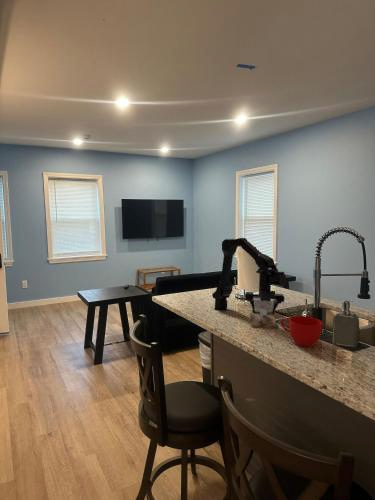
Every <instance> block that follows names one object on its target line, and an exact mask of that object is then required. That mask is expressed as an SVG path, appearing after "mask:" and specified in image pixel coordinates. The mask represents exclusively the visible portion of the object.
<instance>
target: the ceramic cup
mask: <svg viewBox="0 0 375 500" xmlns="http://www.w3.org/2000/svg"><path fill="white" fill-rule="evenodd" d="M284 321H286V322H287V323H288V325H289V328H287V327H286V326H285V324H284ZM280 324H281V327H282V329H284V331H286V332H288V333H289V334H290V336H291V338H292V340H293V341H294V343H295V345H297V346H299V345H300V346H299V347H302V346H304V347H303V348H311V347H310V346H312V347H313V346H314V345H316V343H317V342H318V341H319V340H320V338H321V335H322V332H323V325H324V324H323V321H322V320H320V319H318V318H315V317H311V316H306V315H305V316H304V315H294V316H291V317H290V318H289V319H288V318H282V319H281V321H280Z"/></svg>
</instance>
